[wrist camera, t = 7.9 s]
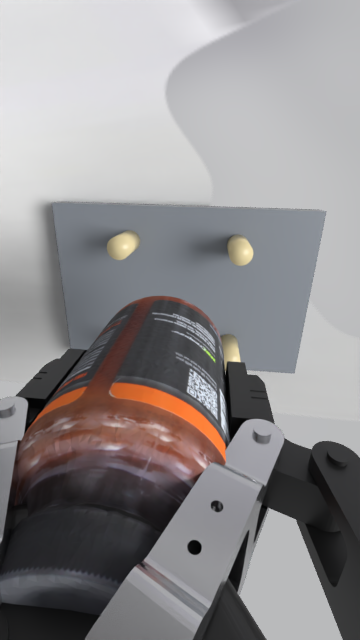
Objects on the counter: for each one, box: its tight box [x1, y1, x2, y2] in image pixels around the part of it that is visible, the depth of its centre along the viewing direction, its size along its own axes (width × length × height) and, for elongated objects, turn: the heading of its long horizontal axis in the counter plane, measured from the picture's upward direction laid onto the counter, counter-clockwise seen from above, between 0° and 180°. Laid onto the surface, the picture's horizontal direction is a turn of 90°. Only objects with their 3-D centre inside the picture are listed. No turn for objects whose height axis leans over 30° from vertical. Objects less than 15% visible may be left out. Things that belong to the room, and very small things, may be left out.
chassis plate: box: [52, 202, 326, 373], centre depth 22 cm, size 12×18×4 cm, turn 88°
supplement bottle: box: [0, 296, 230, 615], centre depth 11 cm, size 6×6×11 cm
